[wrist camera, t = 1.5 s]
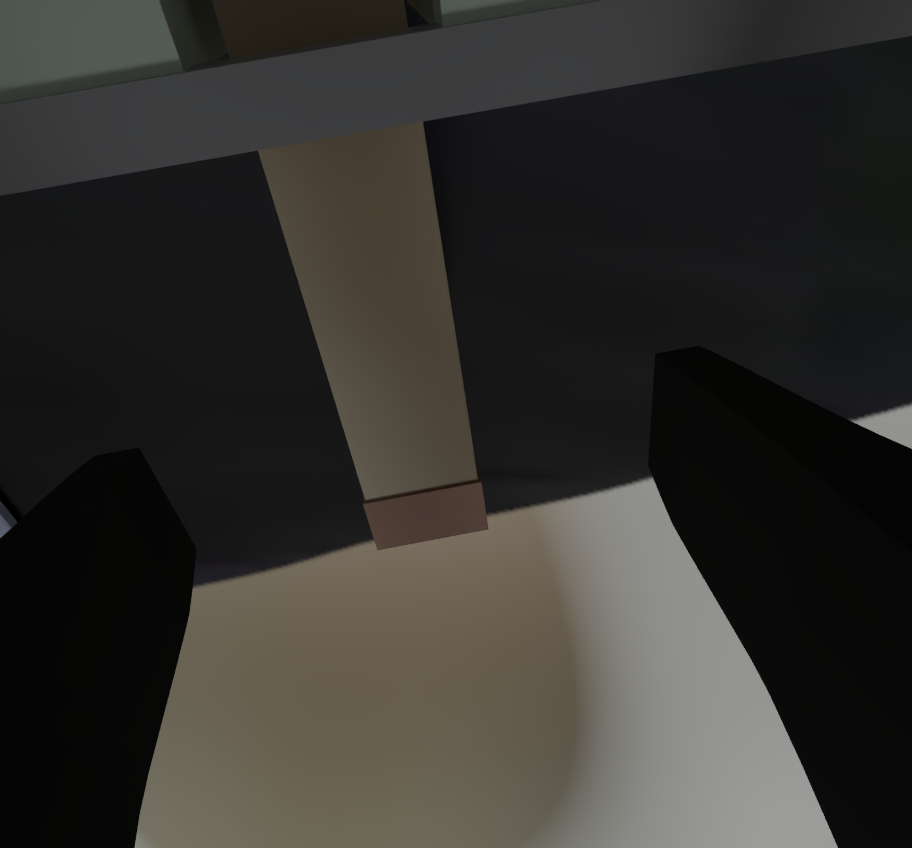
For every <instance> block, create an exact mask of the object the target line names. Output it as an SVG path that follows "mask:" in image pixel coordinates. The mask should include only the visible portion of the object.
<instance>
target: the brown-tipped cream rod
mask: <svg viewBox="0 0 912 848" xmlns="http://www.w3.org/2000/svg"><path fill="white" fill-rule="evenodd" d="M212 2H213V6H214V9H215V12H216V15H217V19H218V22H219V25H220V28H221V32H222V35H223V38H224V41H225V45H226V48H227V51H228V54H229V58H235V57H241V56H247V55H253V54H258V53H264V52H270V51H276V50H282V49H287V48H293V47H299V46H305V45H311V44H316V43H322V42H328V41H334V40H339V39H345V38H351V37H357V36H363V35H368V34H374V33H380V32H386V31H392V30H397V29H403V28H408V22H407V16H406V9H405V3H404V0H212ZM258 152H259V155H260V159H261V162H262V165H263V168H264V172H265V175H266V178H267V181H268V185H269V188H270V191H271V194H272V198H273V201H274V204H275V207H276V211H277V214H278V217H279V220H280V224H281V227H282V230H283V233H284V237H285V240H286V243H287V246H288V250H289V253H290V256H291V259H292V263H293V266H294V269H295V272H296V276H297V279H298V282H299V286H300V289H301V292H302V295H303V299H304V302H305V305H306V308H307V312H308V315H309V318H310V321H311V325H312V328H313V331H314V334H315V338H316V341H317V344H318V347H319V351H320V354H321V357H322V360H323V364H324V367H325V370H326V373H327V377H328V380H329V383H330V386H331V390H332V393H333V396H334V399H335V403H336V406H337V409H338V412H339V416H340V419H341V422H342V425H343V429H344V432H345V435H346V438H347V442H348V445H349V448H350V451H351V455H352V458H353V461H354V465H355V468H356V471H357V474H358V478H359V481H360V484H361V487H362V491H363V505H364V509H365V512H366V515H367V518H368V521H369V525H370V528H371V531H372V534H373V537H374V541H375V544H376V547H377V550H381V549H386V548H392V547H397V546H402V545H407V544H413V543H417V542H423V541H429V540H434V539H439V538H445V537H450V536H455V535H460V534H465V533H471V532H476V531H481V530H487V529H488V524H487V517H486V510H485V504H484V497H483V490H482V484H481V479H480V475H479V471H478V466H477V462H476V458H475V454H474V449H473V445H472V438H471V432H470V425H469V419H468V412H467V406H466V399H465V393H464V386H463V380H462V373H461V367H460V360H459V354H458V347H457V341H456V334H455V328H454V321H453V315H452V308H451V302H450V295H449V289H448V282H447V276H446V269H445V263H444V256H443V250H442V243H441V237H440V230H439V224H438V217H437V211H436V204H435V198H434V191H433V185H432V178H431V172H430V165H429V159H428V152H427V146H426V139H425V133H424V126H423V122H417V123H411V124H406V125H400V126H394V127H389V128H383V129H377V130H371V131H366V132H360V133H354V134H349V135H343V136H337V137H332V138H326V139H320V140H314V141H309V142H303V143H297V144H292V145H286V146H280V147H275V148H269V149H263V150H258Z"/></svg>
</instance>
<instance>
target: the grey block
mask: <svg viewBox="0 0 912 848" xmlns="http://www.w3.org/2000/svg"><path fill="white" fill-rule="evenodd" d="M406 1H407V2H408V3H409V4H410V5H411V6H412V7H413V8H414V9H415V10H416V11H417V12H418V13H419V14H420V15H421V16H422V17H423V18H424V19H425V20H426V21H427V22H428V23H429V24H426V25H421V26H415V27H409V28H403V29H397V30H392V31H386V32H380V33H374V34H368V35H363V36H357V37H351V38H345V39H339V40H334V41H328V42H322V43H316V44H311V45H305V46H299V47H293V48H287V49H282V50H276V51H270V52H264V53H258V54H253V55H247V56H241V57H235V58H229V59H224V60H218V59H219V58H221V57H222V56H223V55H224V54H226V53H227V52H228V51H227V48H226V45H225V41H224V38H223V35H222V32H221V28H220V25H219V22H218V19H217V15H216V12H215V9H214V6H213V2H212V0H0V196H1V195H7V194H13V193H18V192H24V191H30V190H35V189H41V188H47V187H53V186H58V185H64V184H70V183H75V182H81V181H87V180H92V179H98V178H104V177H109V176H115V175H121V174H127V173H132V172H138V171H144V170H149V169H155V168H161V167H166V166H172V165H178V164H184V163H189V162H195V161H201V160H206V159H212V158H218V157H223V156H229V155H235V154H240V153H246V152H252V151H258V150H263V149H269V148H275V147H280V146H286V145H292V144H297V143H303V142H309V141H314V140H320V139H326V138H332V137H337V136H343V135H349V134H354V133H360V132H366V131H371V130H377V129H383V128H389V127H394V126H400V125H406V124H411V123H417V122H423V121H428V120H434V119H440V118H445V117H451V116H457V115H463V114H468V113H474V112H480V111H485V110H491V109H497V108H502V107H508V106H514V105H520V104H525V103H531V102H537V101H542V100H548V99H554V98H559V97H565V96H571V95H576V94H582V93H588V92H594V91H599V90H605V89H611V88H616V87H622V86H628V85H633V84H639V83H645V82H651V81H656V80H662V79H668V78H673V77H679V76H685V75H690V74H696V73H702V72H707V71H713V70H719V69H725V68H730V67H736V66H742V65H747V64H753V63H759V62H764V61H770V60H776V59H781V58H787V57H793V56H799V55H804V54H810V53H816V52H821V51H827V50H833V49H838V48H844V47H850V46H856V45H861V44H867V43H873V42H878V41H884V40H890V39H895V38H901V37H907V36H912V0H406ZM217 60H218V61H217Z"/></svg>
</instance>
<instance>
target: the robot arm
mask: <svg viewBox="0 0 912 848" xmlns="http://www.w3.org/2000/svg"><path fill="white" fill-rule="evenodd" d="M648 466H649V468H650V471H651V473H652V476H653V478H654V481H655V483H656V486H657V488H658V491H659V493H660V496H661V498H662V501H663V503H664V505H665V508H666V510H667V512H668V514H669V517H670V519H671V521H672V524H673V526H674V527H675V529H676V531H677V533H678V535H679V536H680V538H681V540H682V542H683V543H684V545H685V547H686V549H687V550H688V552H689V554H690V556H691V557H692V559H693V561H694V562H695V564H696V566H697V568H698V569H699V571H700V573H701V574H702V576H703V578H704V579H705V581H706V583H707V585H708V586H709V588H710V590H711V592H712V593H713V595H714V597H715V598H716V600H717V602H718V604H719V605H720V607H721V609H722V610H723V612H724V614H725V615H726V617H727V619H728V621H729V622H730V624H731V626H732V627H733V629H734V631H735V633H736V634H737V636H738V638H739V639H740V641H741V643H742V645H743V646H744V648H745V650H746V651H747V653H748V655H749V656H750V658H751V660H752V662H753V663H754V666H755V667H756V669H757V671H758V673H759V675H760V677H761V679H762V681H763V683H764V684H765V686H766V688H767V690H768V692H769V694H770V696H771V698H772V701H773V703H774V705H775V707H776V709H777V711H778V714H779V716H780V718H781V720H782V722H783V724H784V727H785V729H786V731H787V733H788V735H789V737H790V740H791V742H792V744H793V746H794V748H795V750H796V753H797V755H798V757H799V759H800V761H801V764H802V766H803V768H804V770H805V773H806V775H807V777H808V780H809V782H810V784H811V786H812V789H813V791H814V793H815V796H816V798H817V800H818V802H819V805H820V807H821V810H822V812H823V814H824V816H825V819H826V821H827V823H828V826H829V828H830V830H831V832H832V835H833V837H834V839H835V842H836V844H837V846H838V848H912V449H911V448H908V447H906V446H904V445H901V444H899V443H897V442H895V441H892V440H890V439H888V438H886V437H883V436H881V435H879V434H876V433H875V432H872V431H870V430H868V429H866V428H864V427H862V426H859V425H858V424H855V423H853V422H851V421H849V420H847V419H845V418H843V417H841V416H839V415H837V414H835V413H833V412H831V411H828V410H826V409H824V408H822V407H820V406H818V405H816V404H814V403H812V402H810V401H808V400H806V399H804V398H803V397H801V396H799V395H797V394H795V393H793V392H791V391H789V390H787V389H785V388H783V387H781V386H779V385H777V384H775V383H773V382H771V381H769V380H767V379H765V378H764V377H762V376H760V375H758V374H756V373H754V372H752V371H750V370H748V369H746V368H744V367H742V366H740V365H738V364H736V363H734V362H732V361H730V360H728V359H726V358H724V357H722V356H720V355H718V354H716V353H714V352H712V351H709V350H707V349H705V348H702V347H700V346H696V347H690V348H685V349H679V350H674V351H668V352H663V353H657V354H655V368H654V383H653V399H652V414H651V429H650V444H649V460H648ZM195 558H196V547H195V545H194V543H193V542H192V540H191V538H190V536H189V535H188V533H187V531H186V529H185V528H184V526H183V524H182V522H181V521H180V519H179V517H178V515H177V514H176V512H175V510H174V508H173V507H172V505H171V503H170V501H169V500H168V498H167V496H166V494H165V493H164V491H163V489H162V487H161V486H160V484H159V482H158V480H157V478H156V477H155V475H154V473H153V471H152V470H151V468H150V466H149V464H148V463H147V461H146V459H145V457H144V456H143V454H142V452H141V450H140V449H139V448H135V449H130V450H124V451H119V452H113V453H108V454H102V455H97V456H94V457H93V458H91V459H90V460H89V461H87V462H86V463H85V464H83V465H82V466H81V467H80V468H78V469H77V470H76V471H75V472H74V473H72V474H71V475H70V476H69V477H68V478H66V479H65V480H64V481H63V482H62V483H61V484H60V485H58V486H57V487H56V488H55V489H54V490H53V491H52V492H50V493H49V494H48V495H47V496H46V497H45V498H44V499H43V500H42V501H40V502H39V503H38V504H37V505H36V506H35V507H34V508H33V509H32V510H31V511H29V512H28V513H27V514H26V515H25V516H24V517H23V518H22V519H21V520H20V521H18V522H17V521H16V520H15V519H14V517H13V516H12V515H11V514H10V512H9V511H8V510H7V509H6V507H5V506H4V505H3V503H2V502H1V501H0V848H134V847H135V840H136V834H137V828H138V827H137V826H138V821H139V815H140V810H141V805H142V800H143V796H144V791H145V787H146V782H147V778H148V773H149V769H150V766H151V761H152V758H153V754H154V750H155V746H156V742H157V739H158V734H159V731H160V727H161V723H162V719H163V716H164V711H165V708H166V704H167V700H168V697H169V693H170V689H171V685H172V681H173V678H174V674H175V670H176V666H177V662H178V658H179V653H180V650H181V646H182V642H183V638H184V634H185V629H186V626H187V622H188V617H189V612H190V604H191V596H192V589H193V580H194V569H195Z"/></svg>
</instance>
